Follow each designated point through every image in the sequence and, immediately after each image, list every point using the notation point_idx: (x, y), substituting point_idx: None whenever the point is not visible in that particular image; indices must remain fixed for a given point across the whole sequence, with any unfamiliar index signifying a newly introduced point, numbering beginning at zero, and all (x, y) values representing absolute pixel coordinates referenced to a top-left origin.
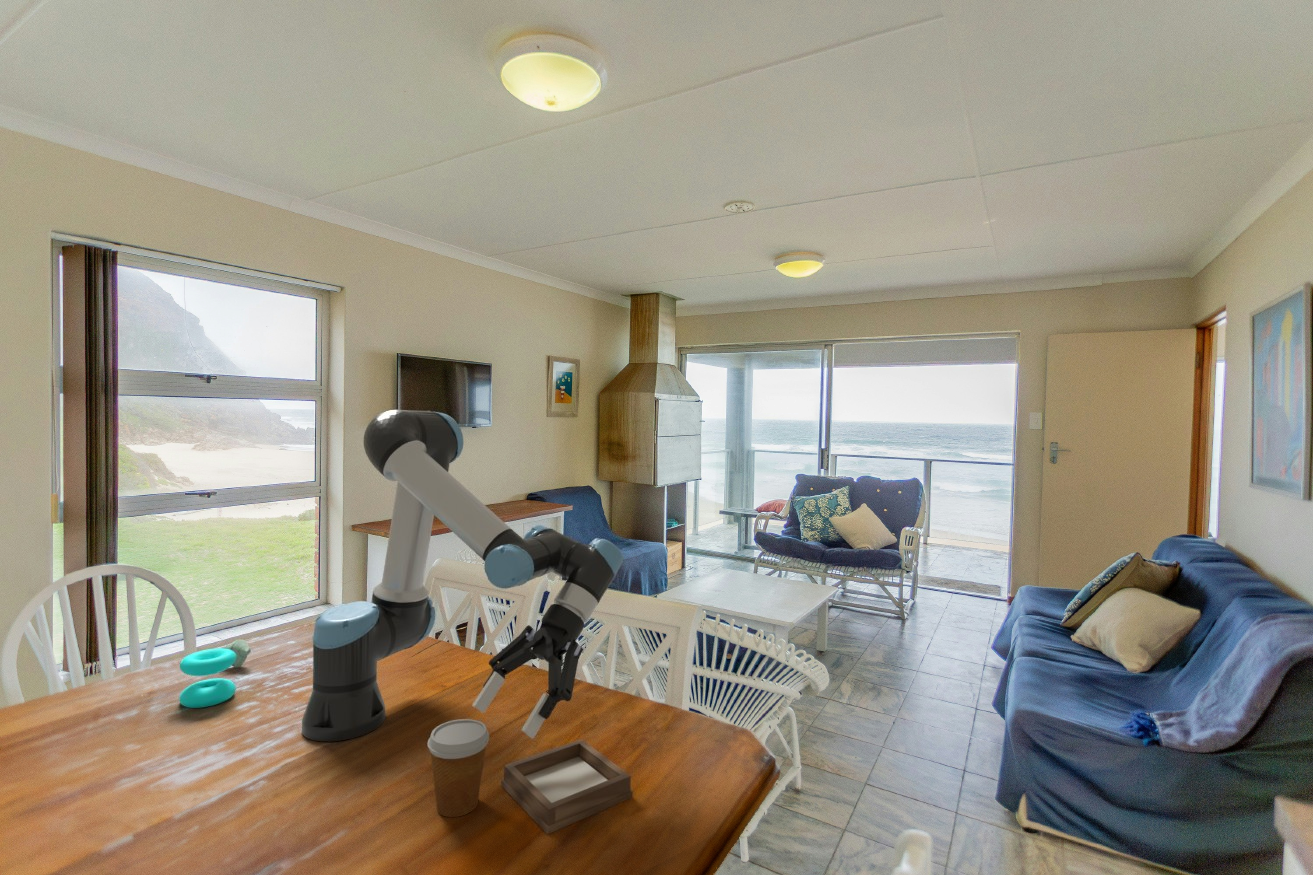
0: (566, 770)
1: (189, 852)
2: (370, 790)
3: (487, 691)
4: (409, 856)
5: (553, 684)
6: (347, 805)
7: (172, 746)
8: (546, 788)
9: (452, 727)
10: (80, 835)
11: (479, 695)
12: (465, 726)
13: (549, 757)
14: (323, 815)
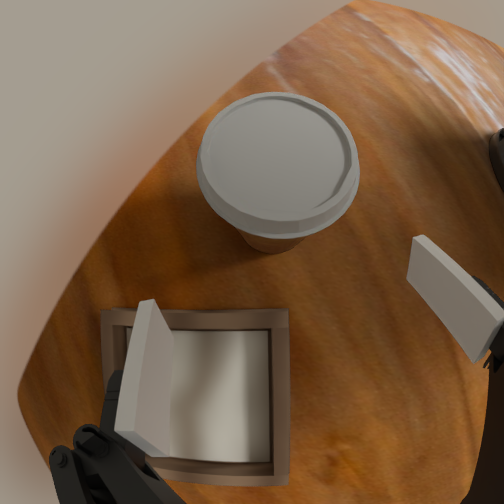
0: (236, 423)
1: (329, 28)
2: (376, 137)
3: (446, 282)
4: (196, 138)
5: (109, 480)
6: (351, 110)
7: (484, 70)
8: (201, 363)
9: (325, 148)
10: (379, 12)
11: (442, 254)
12: (314, 177)
13: (273, 411)
14: (341, 90)
